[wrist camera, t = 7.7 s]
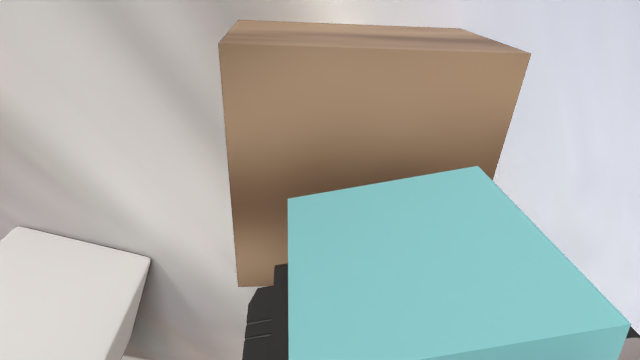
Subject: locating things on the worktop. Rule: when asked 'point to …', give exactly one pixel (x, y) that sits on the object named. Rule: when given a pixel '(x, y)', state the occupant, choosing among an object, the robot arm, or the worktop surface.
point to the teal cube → (436, 278)
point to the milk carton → (66, 297)
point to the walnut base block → (351, 116)
